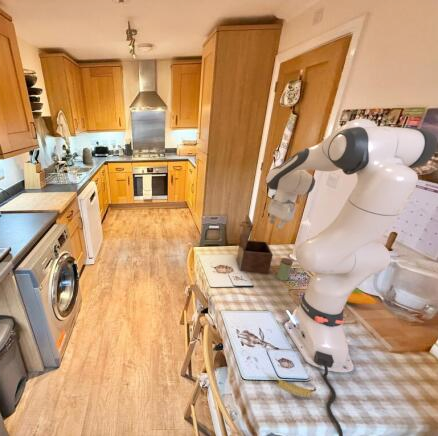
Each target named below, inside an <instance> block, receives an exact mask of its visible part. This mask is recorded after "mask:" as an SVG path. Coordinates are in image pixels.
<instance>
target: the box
mask: <svg viewBox="0 0 438 436" xmlns="http://www.w3.org/2000/svg"><path fill="white" fill-rule="evenodd" d="M236 259H237V263H238V268H239V271H240V272H249V273H257V274H267V275H269V272H270V268H271V263H272V260H273V252H272V250H271V248H270V246H269V244H268V243H267V241H262V240H261V241H260V240H252V239H251V240H249V239H248V242H247V245H246V248H245V251H243V249H242V246H241V242H240V241H239V243H238V249H237V255H236Z"/></svg>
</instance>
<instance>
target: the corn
mask: <svg viewBox="0 0 438 436" xmlns="http://www.w3.org/2000/svg"><path fill="white" fill-rule="evenodd" d="M377 303H378V301H377V300H376V299H375V298H373V297H372V296H370V295H369V294H365V293H363V291H362V290H360V289H357V288H356V289H355V290H354V291H353V292H352V293H351V294H350V296H349V298H348V300H347V302H346V304H345V305H352V306H353V305H354V306H356V305H375V304H377Z"/></svg>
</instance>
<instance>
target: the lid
mask: <svg viewBox="0 0 438 436" xmlns="http://www.w3.org/2000/svg"><path fill="white" fill-rule="evenodd" d="M238 225H239V227H240V228H242V229H241V233H240V236H239V243H240V242H241V246H242V249H243V251H245V248H246V245H247V242H248V240H249V239H250V236H251V233H252V231H253V227H254V225H253V222H252V220H251V218H250V215H249V214H247V215H246V216H245V219H244V220H243V219H238Z"/></svg>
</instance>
